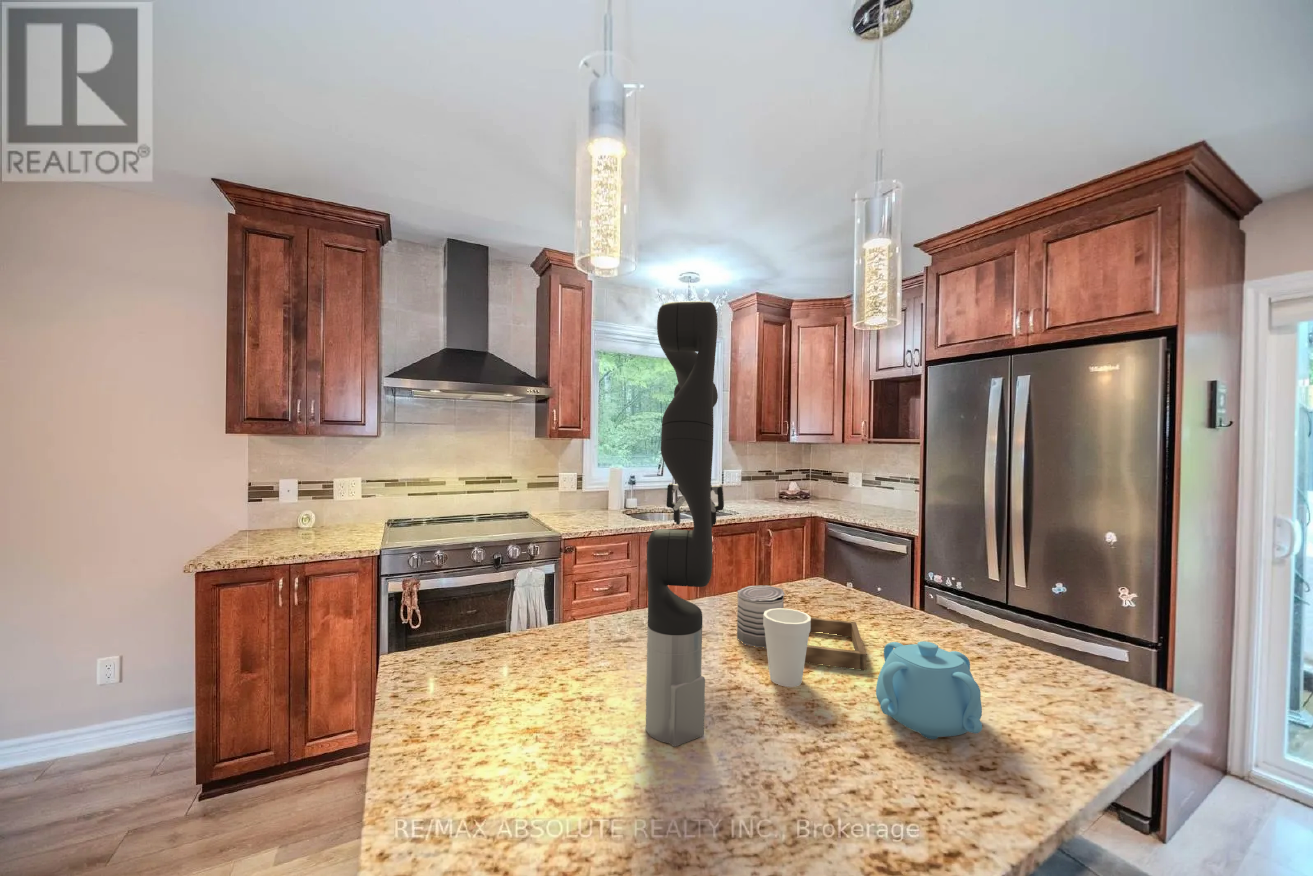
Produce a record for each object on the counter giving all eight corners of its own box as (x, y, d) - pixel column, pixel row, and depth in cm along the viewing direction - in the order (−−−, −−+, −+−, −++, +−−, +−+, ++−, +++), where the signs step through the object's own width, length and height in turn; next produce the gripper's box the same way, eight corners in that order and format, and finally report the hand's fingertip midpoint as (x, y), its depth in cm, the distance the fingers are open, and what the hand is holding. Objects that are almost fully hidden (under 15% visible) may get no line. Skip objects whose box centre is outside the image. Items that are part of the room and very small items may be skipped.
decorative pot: (882, 690, 100) (883, 621, 101) (979, 713, 92) (979, 638, 92) (870, 730, 86) (871, 649, 87) (982, 761, 78) (983, 672, 78)
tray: (770, 658, 114) (771, 642, 114) (775, 626, 134) (775, 613, 134) (865, 670, 109) (866, 654, 109) (855, 636, 128) (856, 622, 128)
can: (788, 649, 119) (789, 598, 119) (740, 648, 119) (740, 597, 120) (778, 631, 131) (778, 584, 131) (733, 630, 131) (734, 583, 131)
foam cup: (805, 670, 108) (806, 609, 108) (814, 692, 99) (815, 625, 99) (760, 668, 109) (760, 607, 109) (764, 689, 100) (765, 622, 100)
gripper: (664, 463, 124) (664, 527, 126) (723, 465, 122) (722, 531, 124) (669, 458, 132) (669, 519, 134) (725, 460, 129) (724, 522, 131)
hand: (695, 524), depth 129 cm, fingers open, 8 cm apart
